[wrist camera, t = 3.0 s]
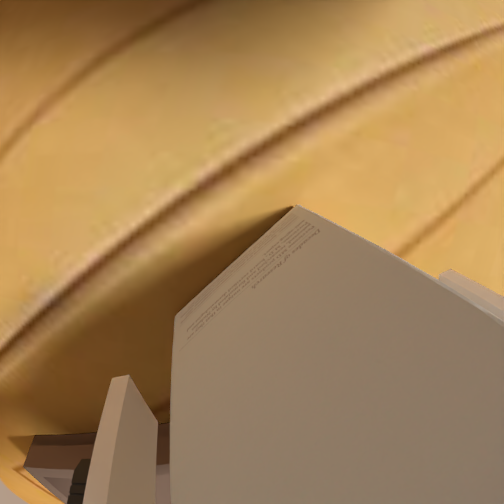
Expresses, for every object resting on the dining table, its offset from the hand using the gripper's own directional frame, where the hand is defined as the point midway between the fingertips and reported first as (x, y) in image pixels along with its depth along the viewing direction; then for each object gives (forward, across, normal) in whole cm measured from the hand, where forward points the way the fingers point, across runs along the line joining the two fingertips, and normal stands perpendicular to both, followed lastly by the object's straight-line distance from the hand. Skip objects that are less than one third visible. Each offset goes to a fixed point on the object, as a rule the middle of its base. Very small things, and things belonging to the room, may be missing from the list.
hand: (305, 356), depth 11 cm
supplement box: (+3, 0, 0) cm, 3 cm away
